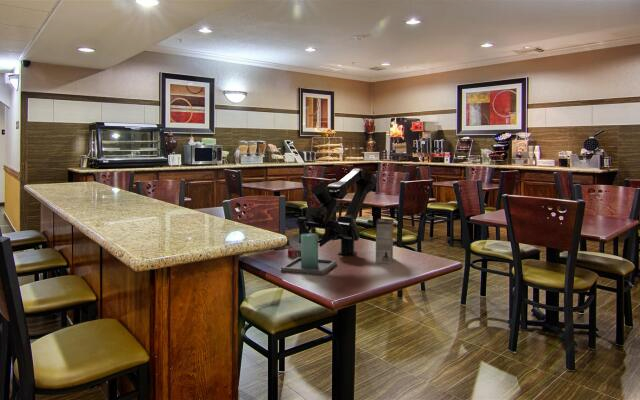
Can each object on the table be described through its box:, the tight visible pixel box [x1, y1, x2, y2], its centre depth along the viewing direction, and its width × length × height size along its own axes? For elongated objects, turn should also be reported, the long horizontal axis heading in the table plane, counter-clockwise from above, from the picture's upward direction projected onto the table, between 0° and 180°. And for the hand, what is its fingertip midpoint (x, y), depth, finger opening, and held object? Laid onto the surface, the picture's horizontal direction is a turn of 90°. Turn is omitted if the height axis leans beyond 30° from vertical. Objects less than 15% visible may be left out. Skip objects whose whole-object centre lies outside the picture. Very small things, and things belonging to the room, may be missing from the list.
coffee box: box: [375, 218, 394, 264], centre depth 181 cm, size 9×6×16 cm
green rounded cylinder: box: [301, 232, 319, 269], centre depth 171 cm, size 6×6×12 cm
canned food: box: [287, 233, 301, 259], centre depth 191 cm, size 11×10×10 cm
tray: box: [280, 257, 338, 277], centre depth 172 cm, size 16×16×2 cm
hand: (309, 244), depth 171 cm, fingers open, 9 cm apart
